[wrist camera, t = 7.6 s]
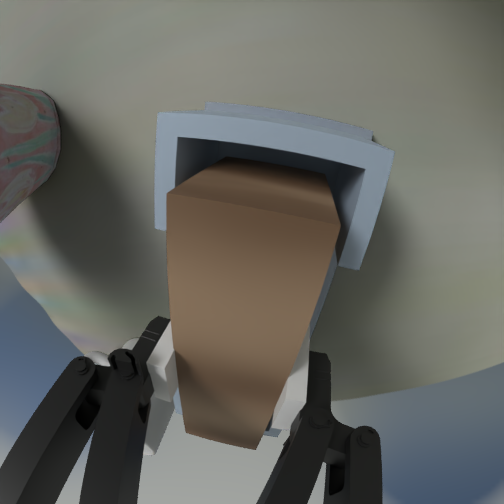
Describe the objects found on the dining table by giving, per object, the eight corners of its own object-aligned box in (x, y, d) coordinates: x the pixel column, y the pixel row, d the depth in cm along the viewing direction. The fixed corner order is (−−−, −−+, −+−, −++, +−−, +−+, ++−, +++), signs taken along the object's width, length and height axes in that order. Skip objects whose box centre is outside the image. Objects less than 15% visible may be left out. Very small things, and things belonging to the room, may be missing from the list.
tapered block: (226, 156, 12) (166, 193, 7) (325, 173, 12) (340, 226, 7) (210, 365, 20) (185, 432, 14) (269, 379, 19) (255, 449, 14)
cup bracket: (210, 102, 16) (129, 100, 8) (369, 130, 15) (430, 149, 7) (197, 333, 25) (161, 410, 18) (300, 356, 25) (291, 441, 17)
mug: (197, 360, 28) (161, 448, 18) (180, 391, 32) (151, 461, 23) (102, 309, 27) (46, 380, 18) (101, 349, 31) (60, 409, 22)
